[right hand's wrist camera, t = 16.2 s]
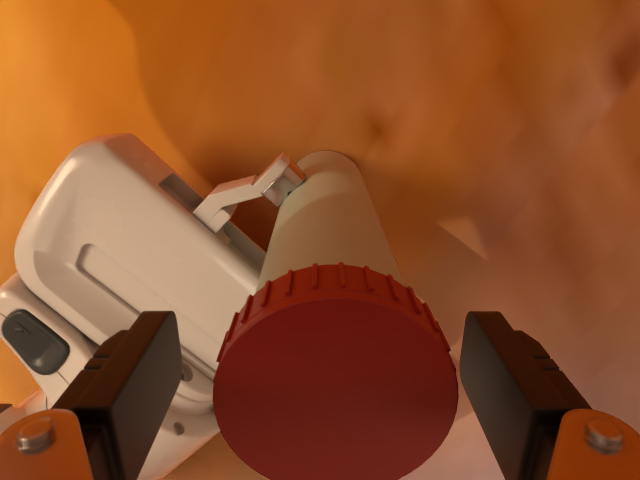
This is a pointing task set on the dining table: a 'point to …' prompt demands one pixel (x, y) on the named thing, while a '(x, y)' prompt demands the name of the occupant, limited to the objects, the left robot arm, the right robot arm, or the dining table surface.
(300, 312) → the lid
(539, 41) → the dining table surface
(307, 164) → the jar
